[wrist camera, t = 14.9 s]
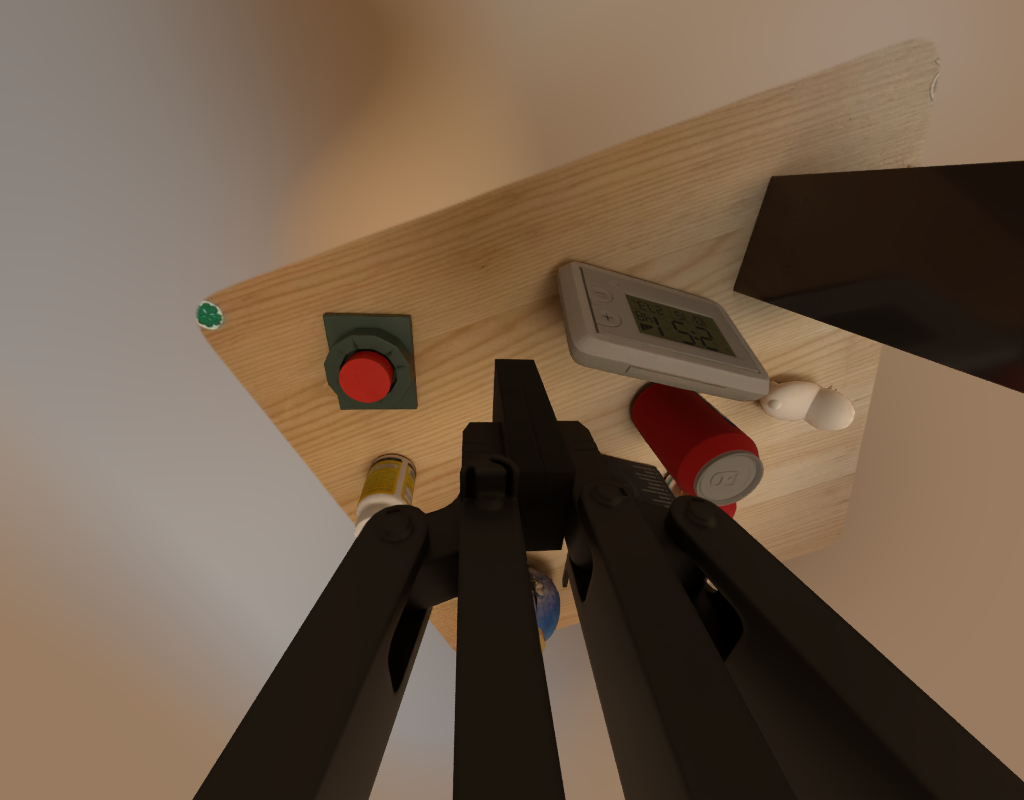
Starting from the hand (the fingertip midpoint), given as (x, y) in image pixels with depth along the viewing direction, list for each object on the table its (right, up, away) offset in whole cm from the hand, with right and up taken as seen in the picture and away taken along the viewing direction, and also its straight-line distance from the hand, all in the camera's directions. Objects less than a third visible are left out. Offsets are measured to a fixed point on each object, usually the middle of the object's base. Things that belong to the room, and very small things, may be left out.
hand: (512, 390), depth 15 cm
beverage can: (+16, -1, +25) cm, 29 cm away
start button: (-12, +2, +17) cm, 21 cm away
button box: (-12, +3, +19) cm, 23 cm away
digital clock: (+11, +8, +19) cm, 23 cm away
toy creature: (+29, +1, +26) cm, 39 cm away
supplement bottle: (-13, -8, +25) cm, 29 cm away
